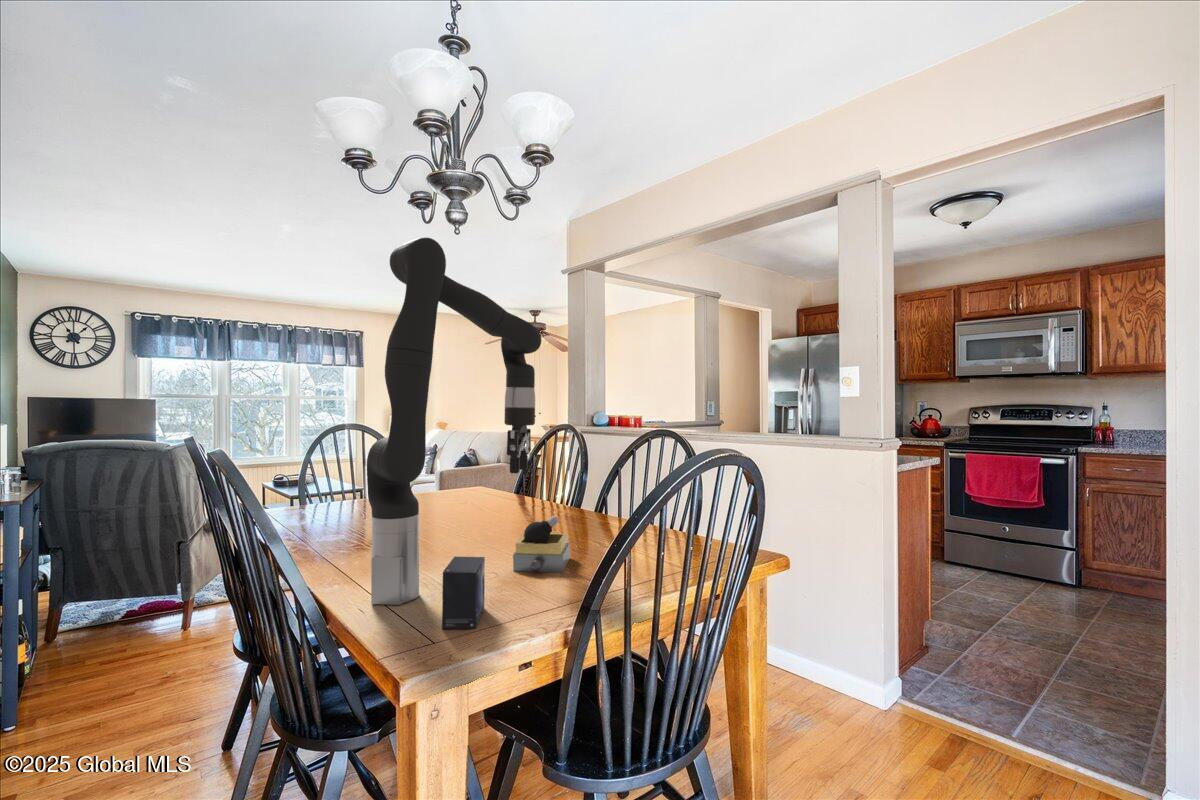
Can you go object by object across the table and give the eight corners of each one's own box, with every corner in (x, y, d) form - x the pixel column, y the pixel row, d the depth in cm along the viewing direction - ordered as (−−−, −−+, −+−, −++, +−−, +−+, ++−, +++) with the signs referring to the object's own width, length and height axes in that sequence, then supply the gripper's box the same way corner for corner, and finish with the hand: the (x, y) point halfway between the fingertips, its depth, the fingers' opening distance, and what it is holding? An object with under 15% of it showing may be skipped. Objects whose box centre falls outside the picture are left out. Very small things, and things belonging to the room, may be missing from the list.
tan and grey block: (560, 576, 134) (560, 548, 134) (510, 574, 135) (510, 547, 135) (569, 558, 148) (569, 533, 148) (524, 557, 150) (524, 532, 150)
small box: (477, 629, 103) (477, 571, 103) (440, 630, 102) (440, 572, 102) (486, 608, 113) (486, 555, 113) (452, 609, 113) (452, 555, 113)
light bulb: (546, 509, 139) (515, 535, 140) (563, 529, 138) (532, 556, 139) (552, 505, 145) (522, 530, 146) (568, 525, 145) (538, 550, 145)
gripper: (528, 406, 135) (527, 475, 135) (540, 406, 149) (539, 468, 149) (497, 405, 136) (496, 474, 136) (512, 406, 150) (511, 468, 150)
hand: (518, 471), depth 142 cm, fingers open, 8 cm apart
